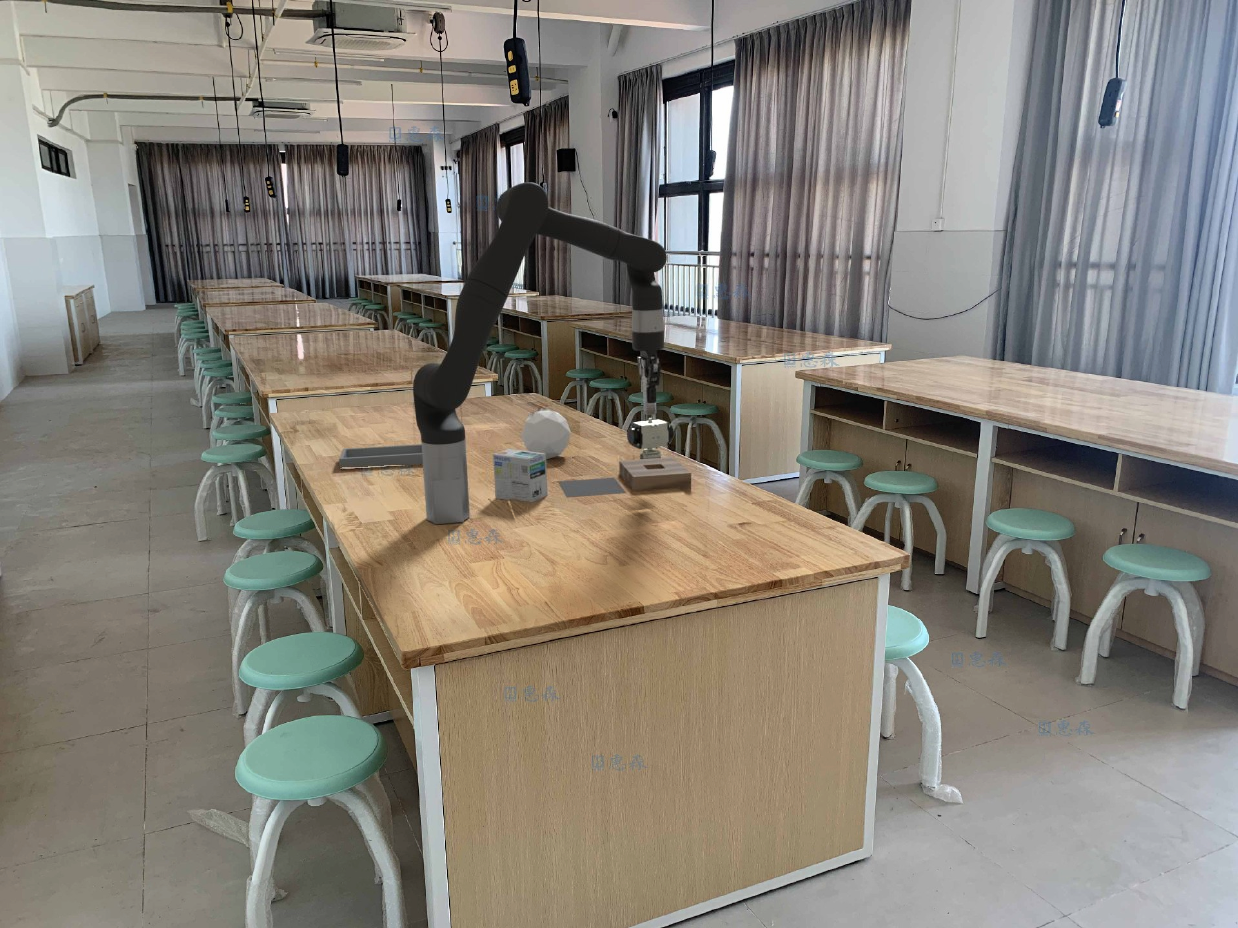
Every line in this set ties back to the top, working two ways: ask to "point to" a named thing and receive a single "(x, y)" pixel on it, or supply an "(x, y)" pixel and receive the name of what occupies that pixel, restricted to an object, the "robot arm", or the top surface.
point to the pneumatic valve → (650, 436)
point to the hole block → (655, 474)
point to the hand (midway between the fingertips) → (649, 401)
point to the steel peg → (648, 407)
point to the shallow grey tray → (381, 456)
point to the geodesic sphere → (546, 433)
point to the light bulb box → (520, 475)
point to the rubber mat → (591, 487)
